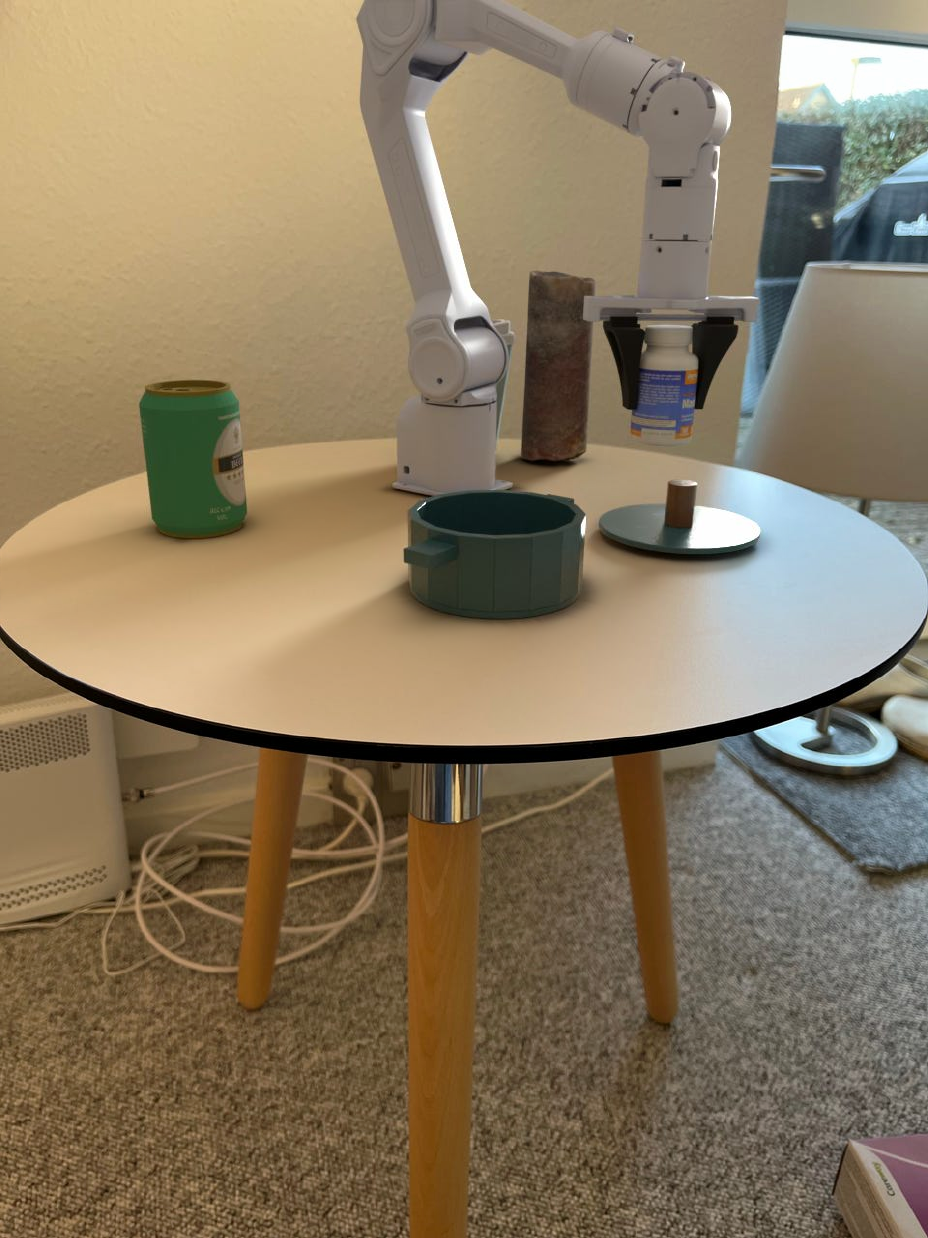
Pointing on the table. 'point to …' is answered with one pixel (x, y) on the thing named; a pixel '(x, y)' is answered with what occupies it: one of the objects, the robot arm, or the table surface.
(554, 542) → the pot
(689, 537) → the lid
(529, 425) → the candle
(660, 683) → the table surface
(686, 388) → the pill bottle
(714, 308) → the robot arm
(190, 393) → the beverage can
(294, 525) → the table surface
